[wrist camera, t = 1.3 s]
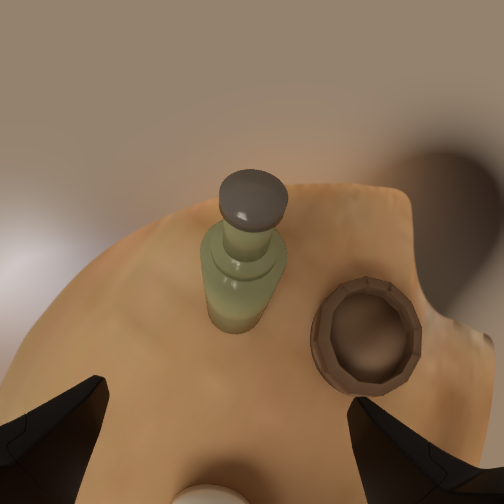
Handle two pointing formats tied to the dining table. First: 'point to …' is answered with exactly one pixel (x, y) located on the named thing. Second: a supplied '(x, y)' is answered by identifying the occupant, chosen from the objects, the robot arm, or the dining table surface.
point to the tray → (366, 338)
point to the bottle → (244, 250)
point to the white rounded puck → (208, 495)
